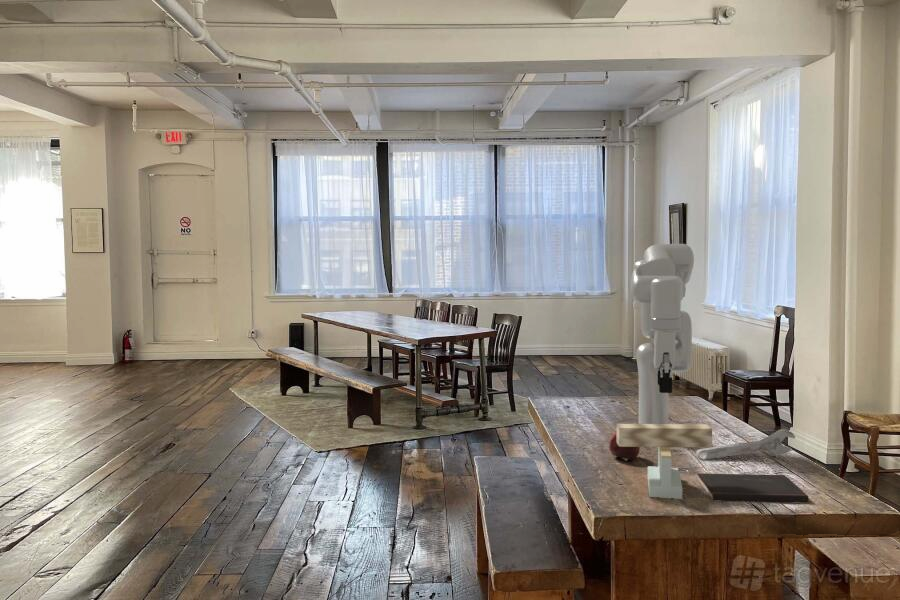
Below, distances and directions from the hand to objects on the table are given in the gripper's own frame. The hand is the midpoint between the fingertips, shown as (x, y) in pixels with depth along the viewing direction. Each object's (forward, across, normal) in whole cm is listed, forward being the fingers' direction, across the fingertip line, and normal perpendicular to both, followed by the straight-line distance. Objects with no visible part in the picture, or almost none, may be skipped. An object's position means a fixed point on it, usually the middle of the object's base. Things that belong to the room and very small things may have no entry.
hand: (664, 388), depth 185 cm
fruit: (+26, -22, -10) cm, 36 cm away
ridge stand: (+26, +2, 0) cm, 26 cm away
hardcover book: (+27, 0, +22) cm, 34 cm away
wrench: (+27, -30, +25) cm, 47 cm away
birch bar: (+15, 0, 0) cm, 15 cm away
